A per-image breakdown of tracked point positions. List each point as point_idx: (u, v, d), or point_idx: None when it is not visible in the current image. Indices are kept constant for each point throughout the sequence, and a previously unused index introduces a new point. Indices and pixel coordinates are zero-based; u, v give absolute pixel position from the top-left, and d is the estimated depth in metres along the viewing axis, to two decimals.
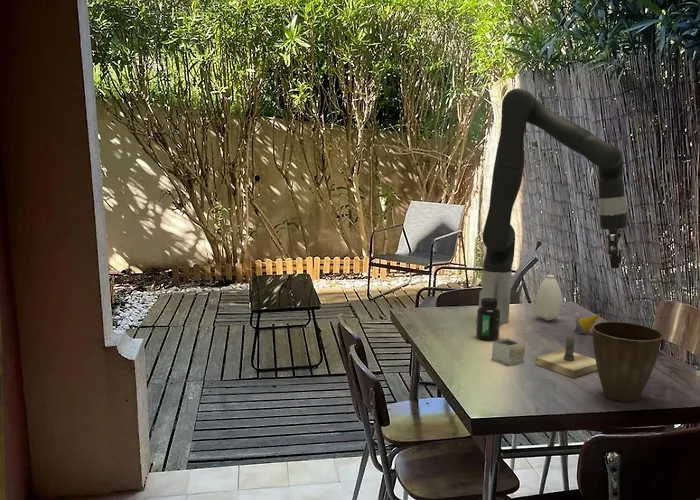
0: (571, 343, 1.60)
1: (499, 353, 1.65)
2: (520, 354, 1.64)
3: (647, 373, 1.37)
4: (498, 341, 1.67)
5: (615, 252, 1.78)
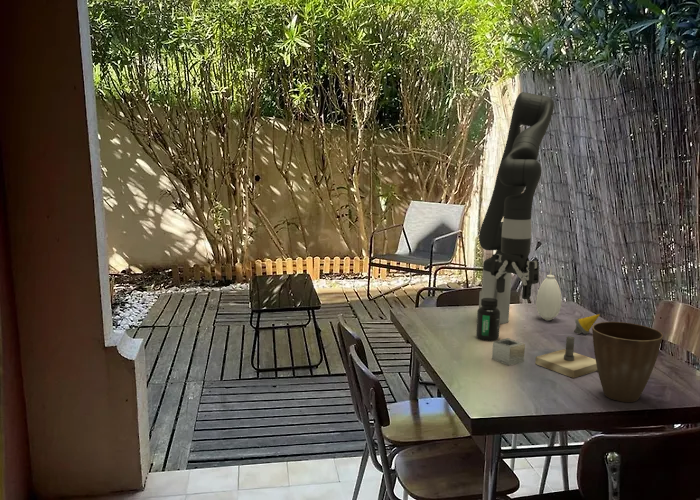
0: (571, 343, 1.60)
1: (499, 353, 1.65)
2: (520, 354, 1.64)
3: (647, 373, 1.37)
4: (498, 341, 1.67)
5: None
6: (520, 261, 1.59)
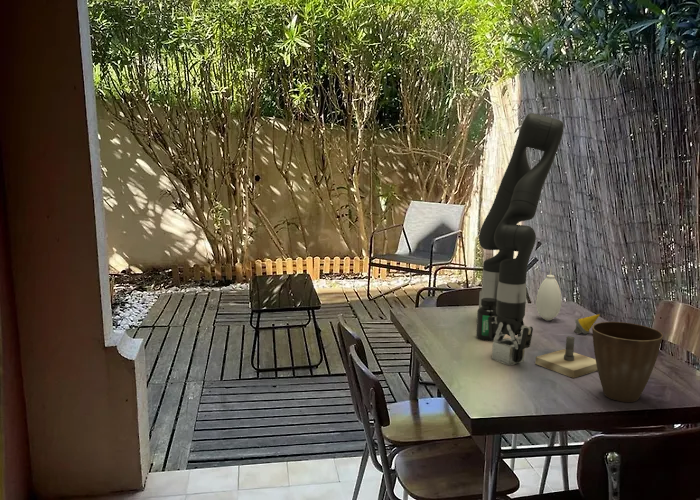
0: (571, 343, 1.60)
1: (499, 353, 1.65)
2: None
3: (647, 373, 1.37)
4: (498, 341, 1.67)
5: None
6: (515, 324, 1.62)
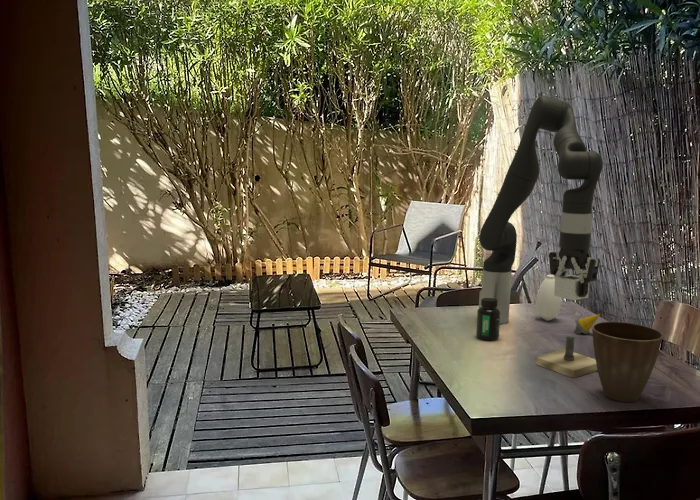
0: (571, 343, 1.60)
1: (562, 288, 1.57)
2: None
3: (647, 373, 1.37)
4: (561, 276, 1.59)
5: None
6: (580, 256, 1.54)
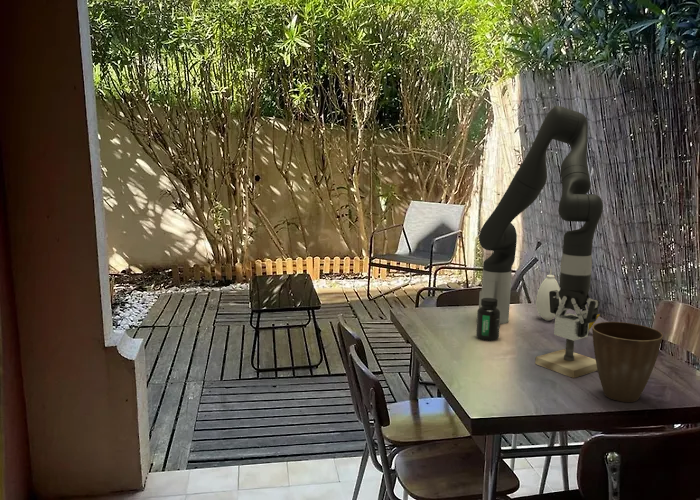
0: (571, 343, 1.60)
1: (562, 328, 1.59)
2: None
3: (647, 373, 1.37)
4: (561, 316, 1.61)
5: None
6: (580, 297, 1.56)
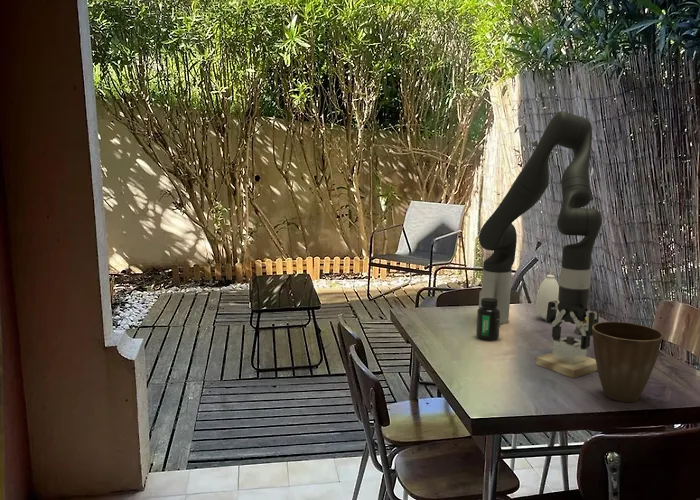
0: (571, 343, 1.60)
1: (561, 352, 1.60)
2: (582, 353, 1.60)
3: (647, 373, 1.37)
4: (559, 340, 1.62)
5: None
6: (579, 311, 1.57)
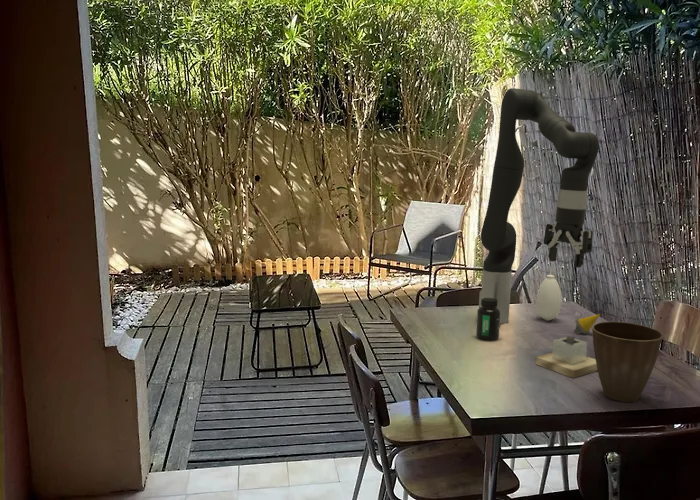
0: (571, 343, 1.60)
1: (561, 352, 1.60)
2: (582, 353, 1.60)
3: (646, 373, 1.37)
4: (559, 340, 1.62)
5: None
6: (574, 231, 1.65)
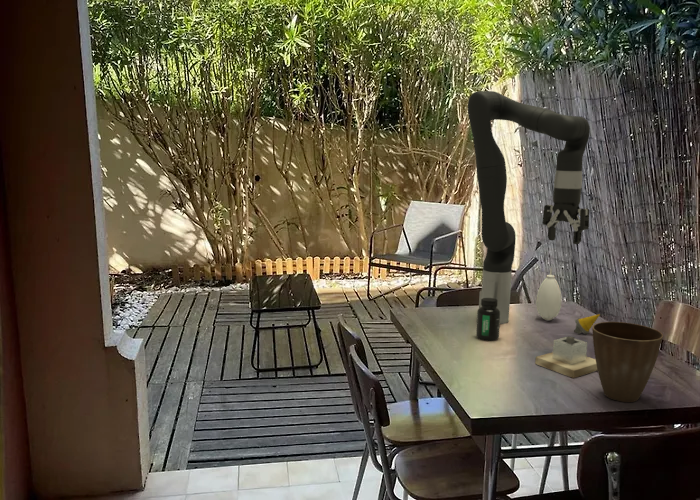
0: (571, 343, 1.60)
1: (561, 352, 1.60)
2: (582, 353, 1.60)
3: (647, 373, 1.37)
4: (559, 340, 1.62)
5: None
6: (571, 209, 1.74)
